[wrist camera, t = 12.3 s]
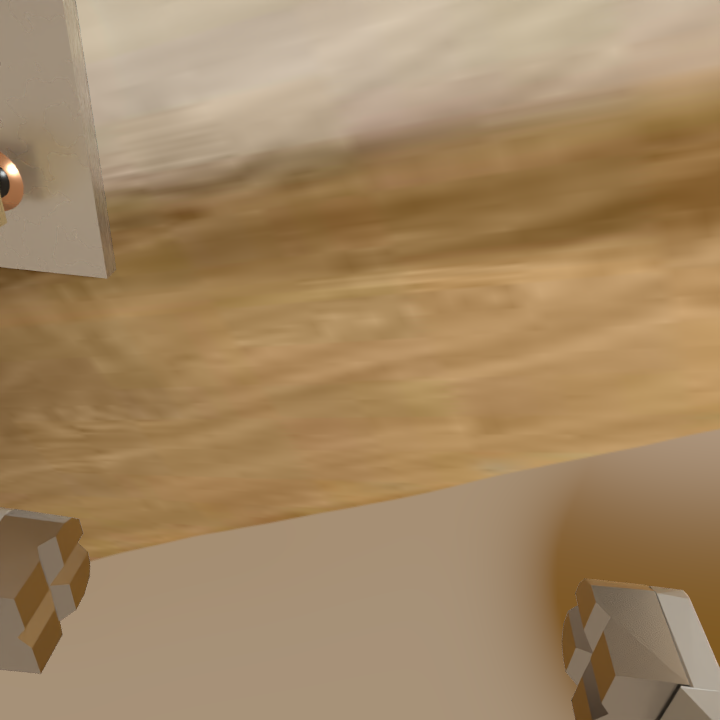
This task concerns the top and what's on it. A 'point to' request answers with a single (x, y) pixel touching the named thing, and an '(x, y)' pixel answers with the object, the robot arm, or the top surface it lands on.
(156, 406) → the top surface
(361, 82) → the top surface
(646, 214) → the top surface
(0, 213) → the wooden block peg
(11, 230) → the bolt plate
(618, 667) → the robot arm
